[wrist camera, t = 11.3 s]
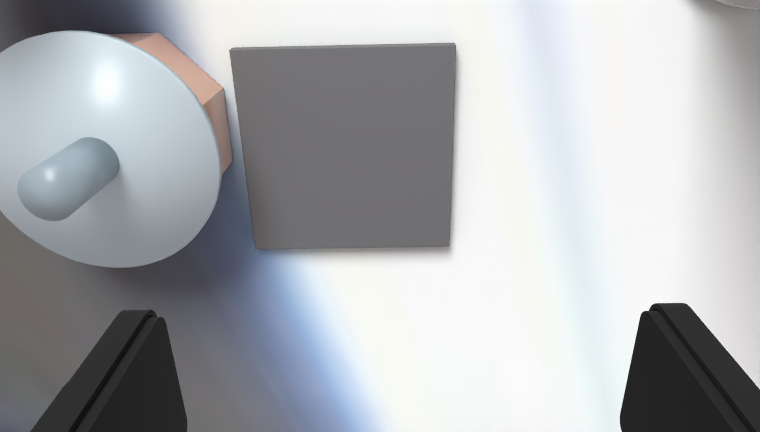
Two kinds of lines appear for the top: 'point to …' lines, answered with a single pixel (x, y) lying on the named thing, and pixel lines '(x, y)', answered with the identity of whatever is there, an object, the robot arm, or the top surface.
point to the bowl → (190, 84)
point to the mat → (347, 143)
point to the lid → (103, 150)
